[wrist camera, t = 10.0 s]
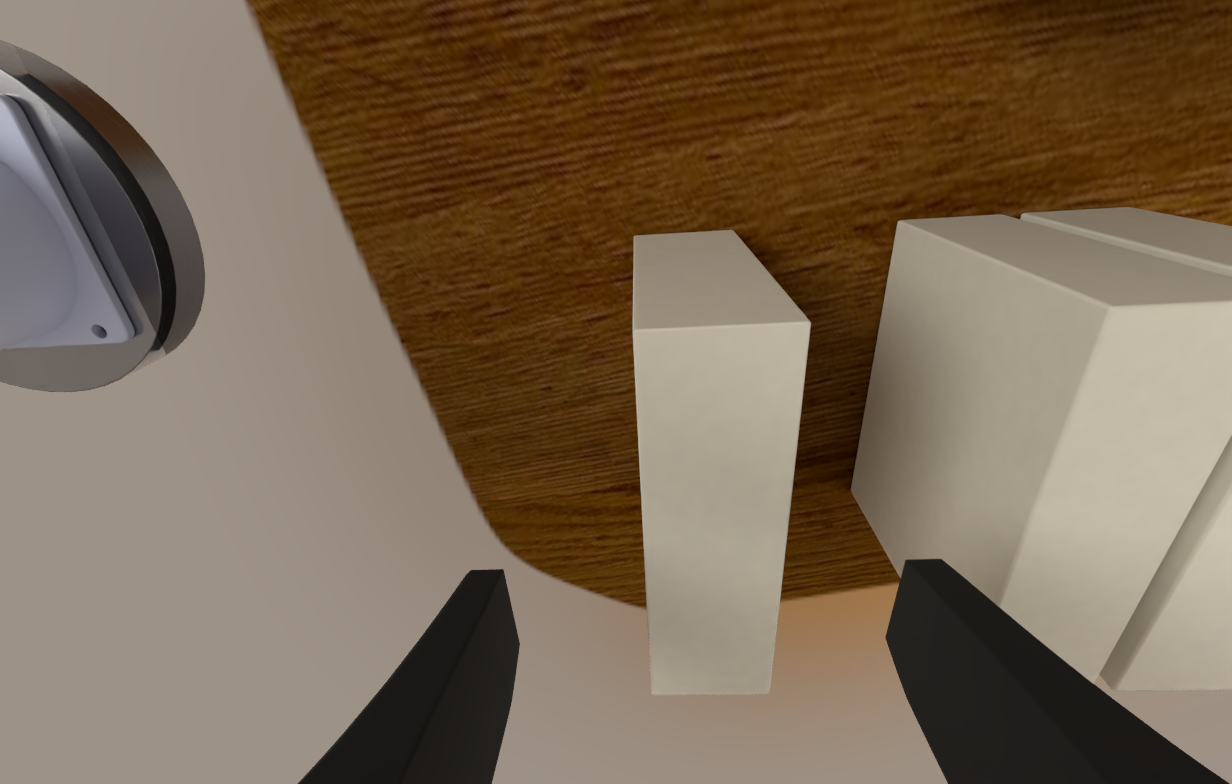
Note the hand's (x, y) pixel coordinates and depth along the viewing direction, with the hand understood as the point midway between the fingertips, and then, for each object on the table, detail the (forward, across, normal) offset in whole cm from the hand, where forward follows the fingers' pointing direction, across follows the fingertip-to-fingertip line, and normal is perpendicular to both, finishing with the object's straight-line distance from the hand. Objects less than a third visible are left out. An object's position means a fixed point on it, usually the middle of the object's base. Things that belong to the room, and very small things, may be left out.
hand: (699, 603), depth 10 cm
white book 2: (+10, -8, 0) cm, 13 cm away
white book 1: (+10, 0, 0) cm, 10 cm away
